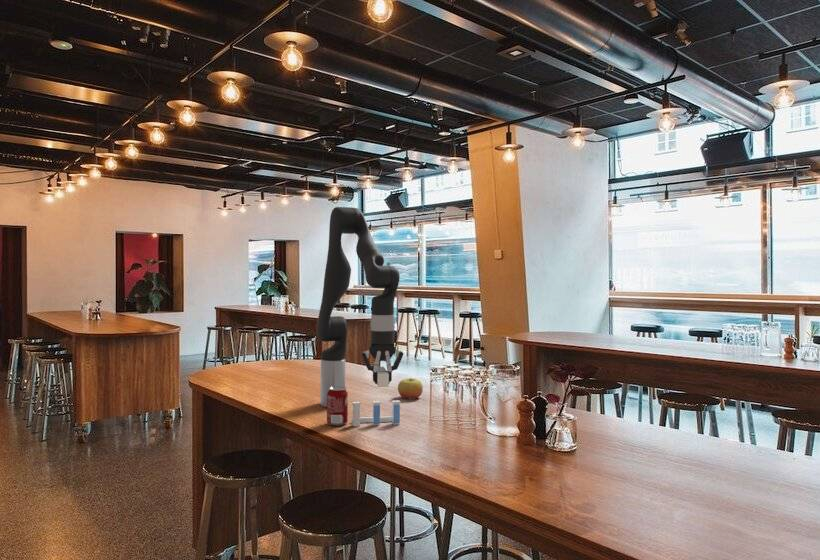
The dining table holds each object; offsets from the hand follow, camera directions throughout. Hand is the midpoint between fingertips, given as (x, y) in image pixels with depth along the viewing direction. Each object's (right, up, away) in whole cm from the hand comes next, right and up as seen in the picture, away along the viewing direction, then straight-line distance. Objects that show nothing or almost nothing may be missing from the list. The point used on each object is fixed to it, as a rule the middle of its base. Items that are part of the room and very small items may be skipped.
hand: (382, 383), depth 178 cm
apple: (+9, -15, +47) cm, 50 cm away
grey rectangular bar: (0, 0, +2) cm, 2 cm away
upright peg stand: (-3, -15, +9) cm, 18 cm away
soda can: (-15, -15, +8) cm, 23 cm away
